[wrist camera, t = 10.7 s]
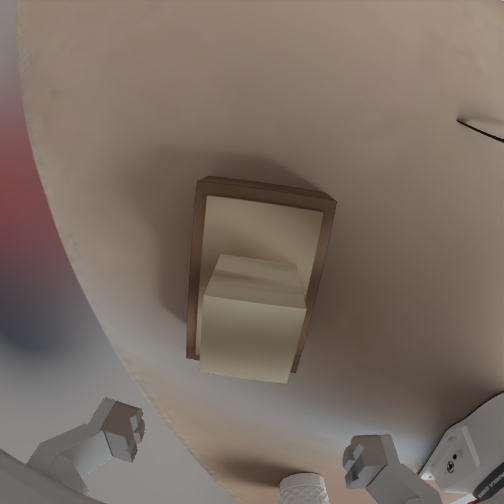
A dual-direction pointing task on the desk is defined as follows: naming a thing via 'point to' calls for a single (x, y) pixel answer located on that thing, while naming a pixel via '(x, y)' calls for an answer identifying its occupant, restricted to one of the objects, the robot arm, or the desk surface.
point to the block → (251, 319)
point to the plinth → (256, 239)
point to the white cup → (303, 489)
